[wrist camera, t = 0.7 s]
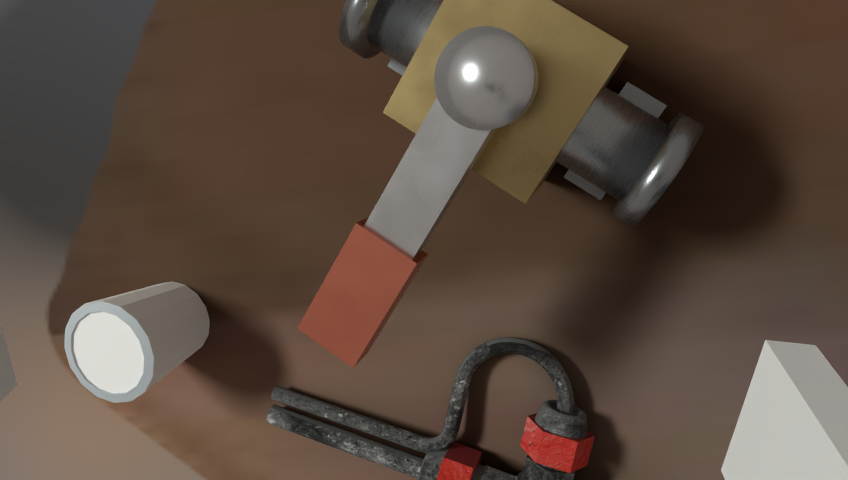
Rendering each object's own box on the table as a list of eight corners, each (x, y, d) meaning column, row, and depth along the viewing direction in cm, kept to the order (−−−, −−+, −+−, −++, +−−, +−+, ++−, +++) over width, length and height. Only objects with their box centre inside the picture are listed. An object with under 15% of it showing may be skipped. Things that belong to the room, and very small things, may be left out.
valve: (688, 375, 40) (626, 592, 42) (319, 268, 47) (279, 458, 49) (700, 405, 34) (627, 657, 36) (274, 277, 41) (231, 494, 43)
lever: (475, 11, 27) (466, 6, 25) (557, 61, 26) (553, 59, 25) (307, 311, 32) (290, 323, 30) (373, 358, 31) (360, 372, 30)
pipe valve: (704, 106, 35) (740, 109, 25) (617, 227, 38) (619, 273, 28) (429, -58, 37) (362, -115, 27) (365, 66, 40) (282, 56, 30)
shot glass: (148, 258, 47) (73, 283, 41) (228, 298, 46) (163, 331, 39) (128, 337, 49) (53, 374, 43) (203, 377, 48) (139, 422, 42)
